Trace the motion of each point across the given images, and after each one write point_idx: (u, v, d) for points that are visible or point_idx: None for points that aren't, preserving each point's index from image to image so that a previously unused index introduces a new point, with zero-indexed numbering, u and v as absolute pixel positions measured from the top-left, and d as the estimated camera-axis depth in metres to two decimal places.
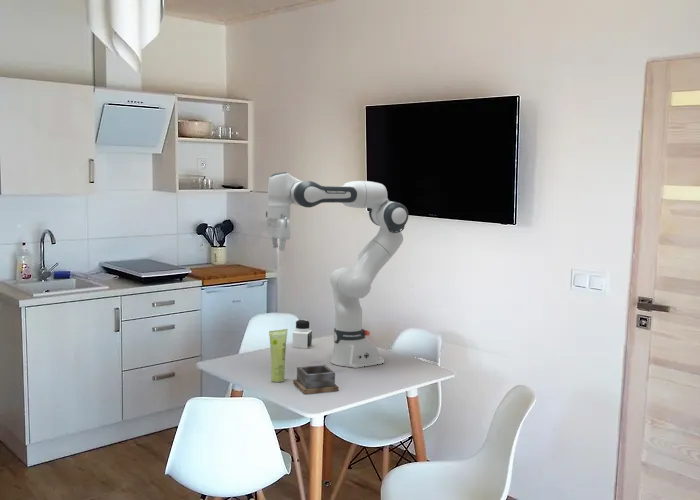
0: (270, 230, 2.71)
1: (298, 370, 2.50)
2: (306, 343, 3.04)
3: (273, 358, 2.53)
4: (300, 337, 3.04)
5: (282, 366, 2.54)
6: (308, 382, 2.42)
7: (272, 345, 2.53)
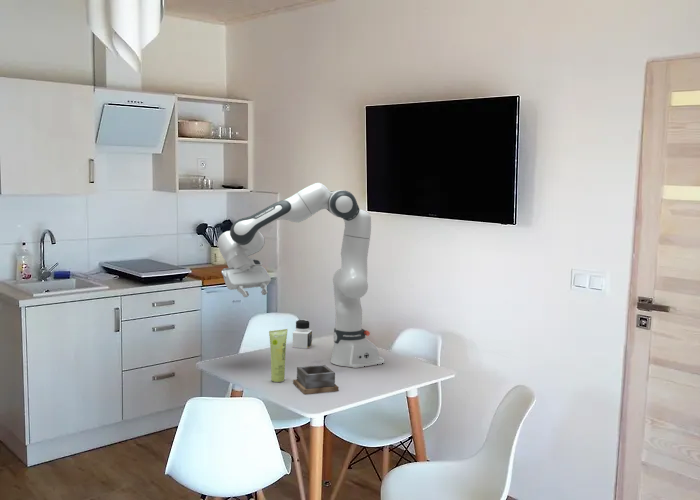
0: None
1: (298, 370, 2.50)
2: (306, 343, 3.04)
3: (273, 358, 2.53)
4: (300, 337, 3.04)
5: (282, 366, 2.54)
6: (308, 382, 2.42)
7: (272, 345, 2.53)
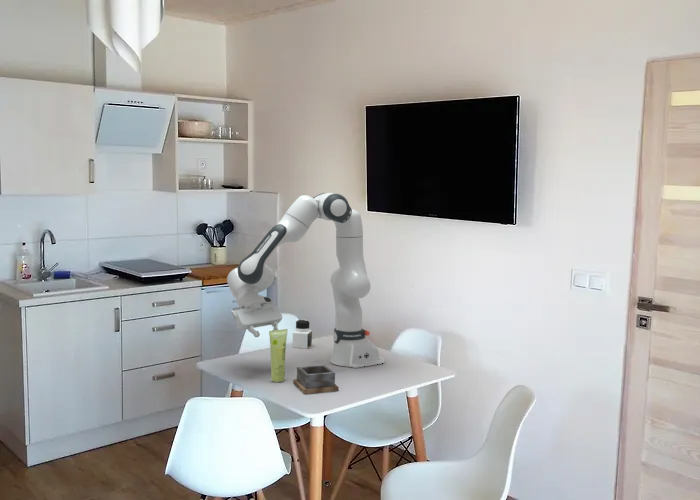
0: None
1: (298, 370, 2.50)
2: (306, 343, 3.04)
3: (273, 358, 2.53)
4: (300, 337, 3.04)
5: (282, 366, 2.54)
6: (308, 382, 2.42)
7: (272, 345, 2.53)
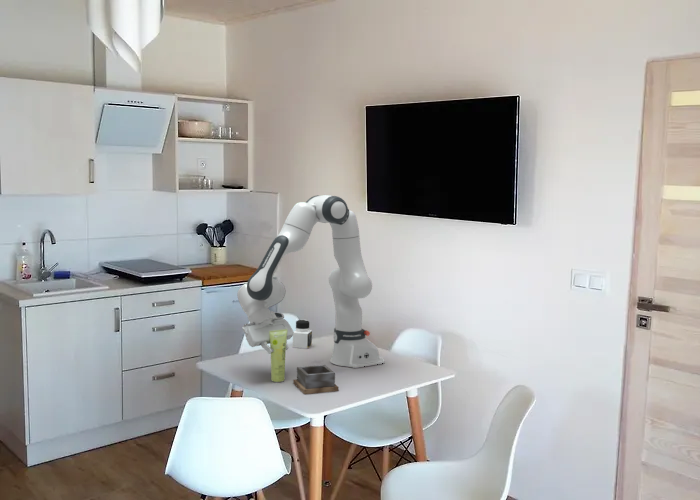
0: None
1: (298, 370, 2.50)
2: (306, 343, 3.04)
3: (273, 358, 2.53)
4: (300, 337, 3.04)
5: (282, 366, 2.54)
6: (308, 382, 2.42)
7: (272, 345, 2.53)
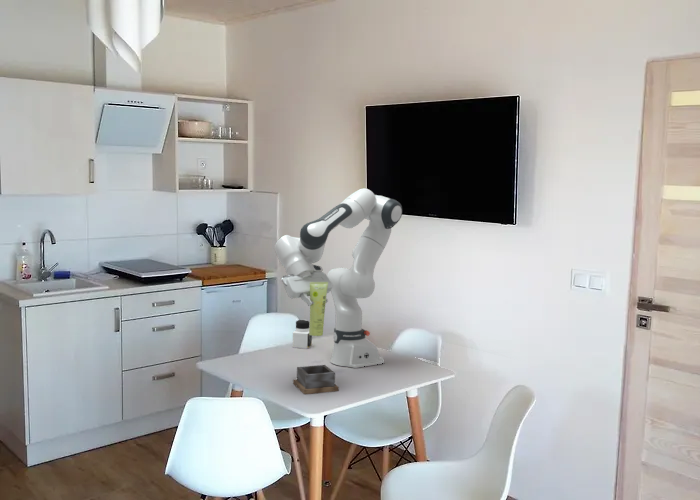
0: None
1: (298, 370, 2.50)
2: (306, 343, 3.04)
3: (312, 311, 2.44)
4: (300, 337, 3.04)
5: (321, 320, 2.45)
6: (308, 382, 2.42)
7: (312, 297, 2.44)
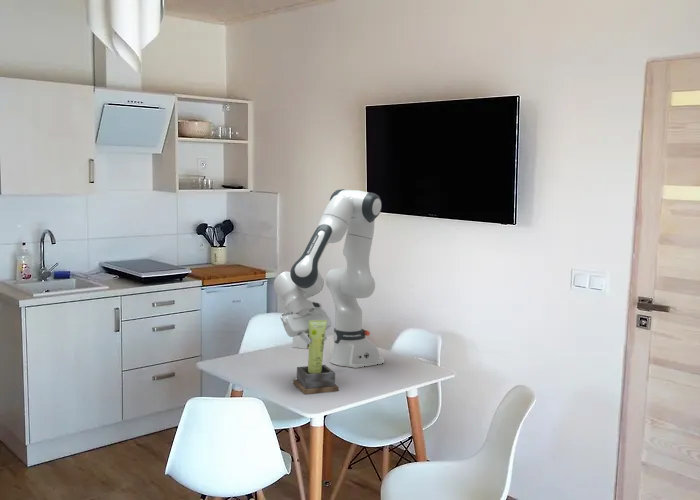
0: None
1: (298, 370, 2.50)
2: (306, 343, 3.04)
3: (311, 349, 2.45)
4: (300, 337, 3.04)
5: (320, 358, 2.46)
6: (308, 382, 2.42)
7: (311, 335, 2.45)
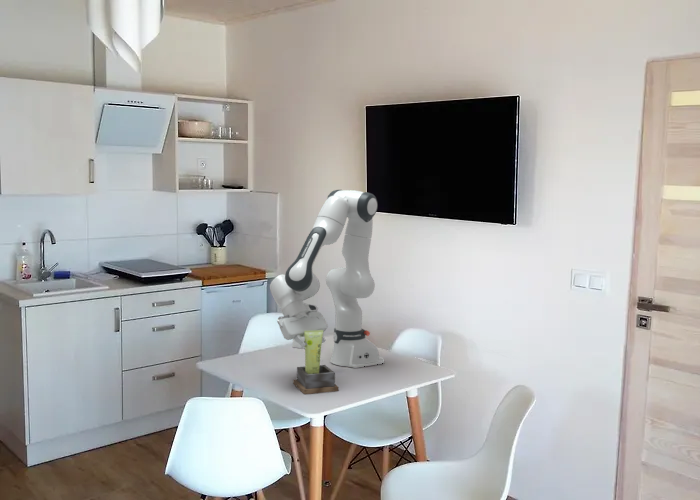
0: None
1: (298, 370, 2.50)
2: None
3: (307, 359, 2.46)
4: (300, 337, 3.04)
5: (316, 368, 2.46)
6: (308, 382, 2.42)
7: (307, 345, 2.46)
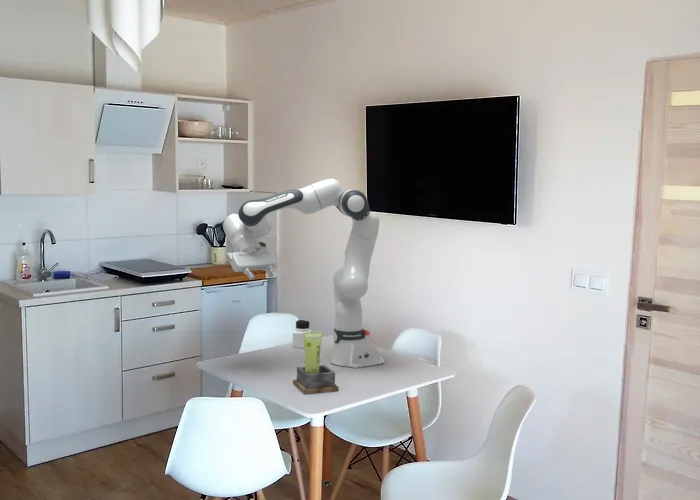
0: None
1: (298, 370, 2.50)
2: None
3: (306, 361, 2.45)
4: (300, 337, 3.04)
5: (316, 369, 2.46)
6: (308, 382, 2.42)
7: (306, 347, 2.45)
